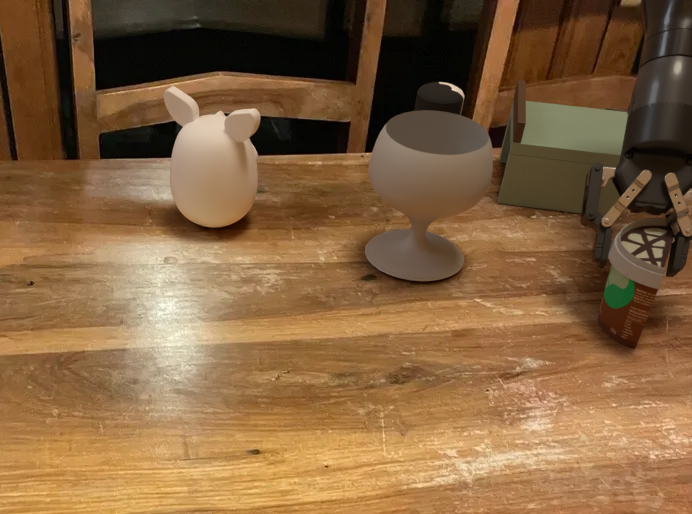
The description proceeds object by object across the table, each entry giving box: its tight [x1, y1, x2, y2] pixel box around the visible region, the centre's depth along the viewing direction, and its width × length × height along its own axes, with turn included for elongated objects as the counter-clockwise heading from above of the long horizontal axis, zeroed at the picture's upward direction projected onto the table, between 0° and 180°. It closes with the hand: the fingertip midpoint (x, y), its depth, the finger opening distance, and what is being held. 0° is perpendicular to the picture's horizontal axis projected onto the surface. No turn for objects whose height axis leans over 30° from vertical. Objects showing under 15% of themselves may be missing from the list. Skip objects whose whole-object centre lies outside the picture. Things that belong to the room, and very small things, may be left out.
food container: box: [596, 217, 674, 349], centre depth 103 cm, size 12×6×10 cm, turn 156°
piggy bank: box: [163, 85, 261, 228], centre depth 114 cm, size 12×12×15 cm
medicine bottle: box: [413, 81, 465, 116], centre depth 124 cm, size 7×7×12 cm
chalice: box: [364, 110, 494, 282], centre depth 109 cm, size 14×14×15 cm
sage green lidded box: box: [497, 79, 628, 219], centre depth 124 cm, size 16×14×10 cm
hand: (636, 270), depth 102 cm, fingers closed on food container, 7 cm apart
